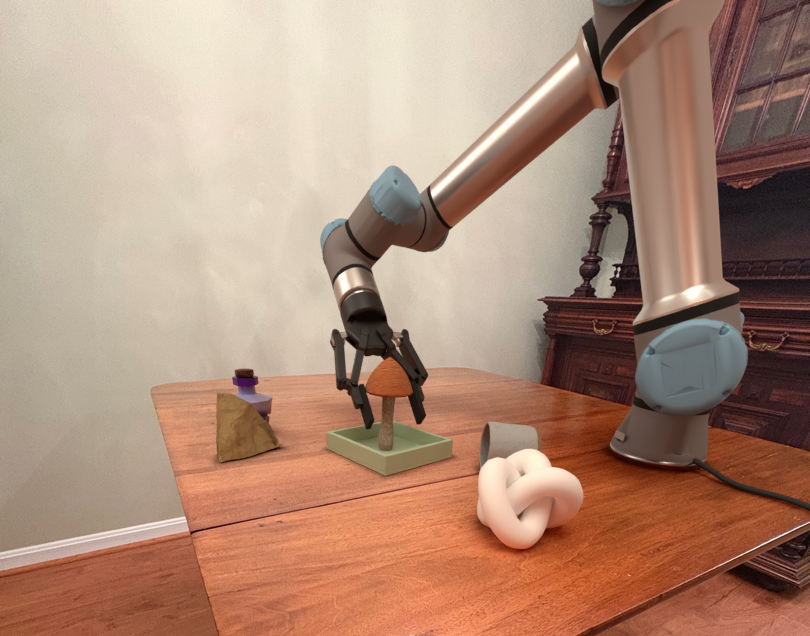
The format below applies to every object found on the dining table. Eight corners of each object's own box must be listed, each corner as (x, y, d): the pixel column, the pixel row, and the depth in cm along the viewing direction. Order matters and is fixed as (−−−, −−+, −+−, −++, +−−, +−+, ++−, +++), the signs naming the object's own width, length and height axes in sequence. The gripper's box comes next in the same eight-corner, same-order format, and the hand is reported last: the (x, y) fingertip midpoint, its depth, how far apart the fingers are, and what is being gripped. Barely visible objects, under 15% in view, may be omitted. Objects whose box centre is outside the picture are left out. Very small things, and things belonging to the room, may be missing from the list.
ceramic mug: (538, 479, 65) (547, 429, 61) (484, 479, 64) (491, 428, 61) (520, 458, 74) (527, 413, 70) (473, 457, 74) (478, 412, 70)
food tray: (451, 457, 73) (453, 439, 71) (385, 476, 65) (385, 456, 63) (391, 435, 84) (391, 419, 82) (327, 449, 75) (326, 431, 74)
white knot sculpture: (448, 513, 54) (454, 444, 49) (531, 504, 57) (544, 438, 52) (487, 560, 44) (498, 479, 40) (585, 546, 47) (605, 470, 43)
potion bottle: (231, 443, 77) (218, 373, 71) (228, 431, 84) (216, 366, 78) (280, 439, 80) (271, 371, 74) (273, 427, 87) (265, 364, 81)
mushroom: (417, 455, 72) (420, 359, 64) (371, 458, 70) (369, 360, 62) (403, 441, 78) (405, 353, 71) (361, 444, 76) (358, 353, 69)
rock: (280, 428, 78) (221, 422, 75) (281, 395, 70) (216, 387, 68) (279, 478, 74) (217, 474, 71) (279, 449, 66) (210, 444, 63)
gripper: (408, 323, 81) (444, 428, 76) (297, 322, 73) (329, 440, 68) (422, 290, 74) (462, 404, 69) (301, 286, 66) (337, 414, 61)
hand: (396, 422), depth 69 cm, fingers open, 8 cm apart
